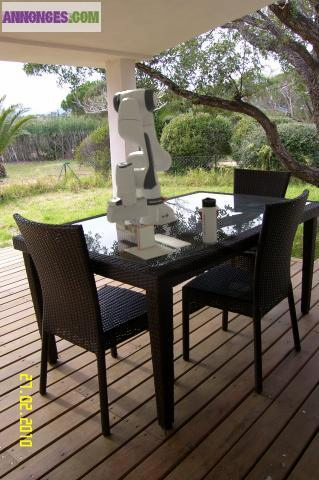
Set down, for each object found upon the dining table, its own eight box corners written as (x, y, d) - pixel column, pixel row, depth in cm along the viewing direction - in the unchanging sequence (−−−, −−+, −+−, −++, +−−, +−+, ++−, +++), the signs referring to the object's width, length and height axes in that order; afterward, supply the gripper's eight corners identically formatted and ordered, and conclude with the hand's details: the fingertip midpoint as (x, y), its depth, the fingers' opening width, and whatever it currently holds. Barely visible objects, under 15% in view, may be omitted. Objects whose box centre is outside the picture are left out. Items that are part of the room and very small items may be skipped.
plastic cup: (203, 228, 202) (202, 205, 199) (223, 230, 197) (223, 206, 193) (194, 233, 193) (193, 209, 190) (214, 235, 188) (214, 210, 185)
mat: (153, 243, 181) (153, 242, 181) (177, 252, 166) (177, 250, 166) (123, 251, 172) (123, 249, 172) (145, 261, 158) (145, 259, 158)
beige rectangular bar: (124, 227, 192) (123, 219, 191) (145, 234, 177) (144, 226, 176) (113, 229, 189) (112, 221, 188) (133, 237, 174) (133, 228, 173)
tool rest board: (160, 235, 193) (160, 233, 193) (191, 245, 174) (191, 243, 174) (146, 238, 189) (146, 236, 189) (176, 249, 170) (176, 247, 170)
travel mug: (215, 240, 181) (214, 196, 175) (217, 244, 174) (217, 199, 169) (201, 241, 181) (200, 197, 175) (203, 245, 174) (202, 200, 169)
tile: (153, 245, 176) (151, 223, 173) (155, 246, 174) (154, 224, 172) (138, 249, 171) (136, 227, 168) (140, 250, 170) (138, 227, 167)
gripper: (142, 195, 186) (144, 223, 190) (103, 201, 175) (106, 231, 179) (150, 196, 181) (151, 226, 185) (110, 203, 170) (113, 234, 174)
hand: (129, 229), depth 182 cm, fingers closed on beige rectangular bar, 3 cm apart
